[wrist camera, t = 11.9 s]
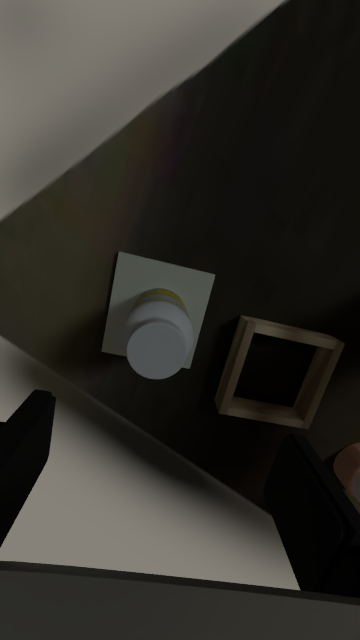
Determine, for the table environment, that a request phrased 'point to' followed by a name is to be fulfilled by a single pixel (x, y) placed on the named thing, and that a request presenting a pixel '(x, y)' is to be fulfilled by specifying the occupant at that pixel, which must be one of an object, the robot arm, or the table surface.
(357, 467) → the pepper shaker
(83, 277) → the table surface
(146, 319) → the pill bottle
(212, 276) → the ceramic tile
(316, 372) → the oak cradle
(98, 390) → the table surface
